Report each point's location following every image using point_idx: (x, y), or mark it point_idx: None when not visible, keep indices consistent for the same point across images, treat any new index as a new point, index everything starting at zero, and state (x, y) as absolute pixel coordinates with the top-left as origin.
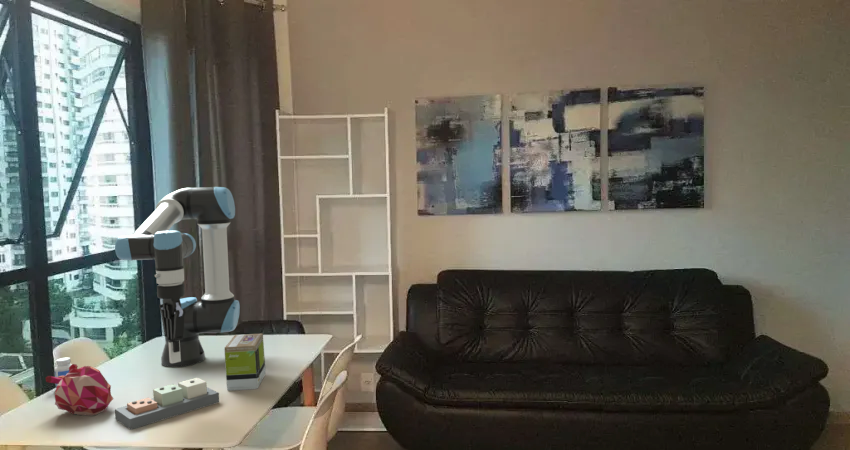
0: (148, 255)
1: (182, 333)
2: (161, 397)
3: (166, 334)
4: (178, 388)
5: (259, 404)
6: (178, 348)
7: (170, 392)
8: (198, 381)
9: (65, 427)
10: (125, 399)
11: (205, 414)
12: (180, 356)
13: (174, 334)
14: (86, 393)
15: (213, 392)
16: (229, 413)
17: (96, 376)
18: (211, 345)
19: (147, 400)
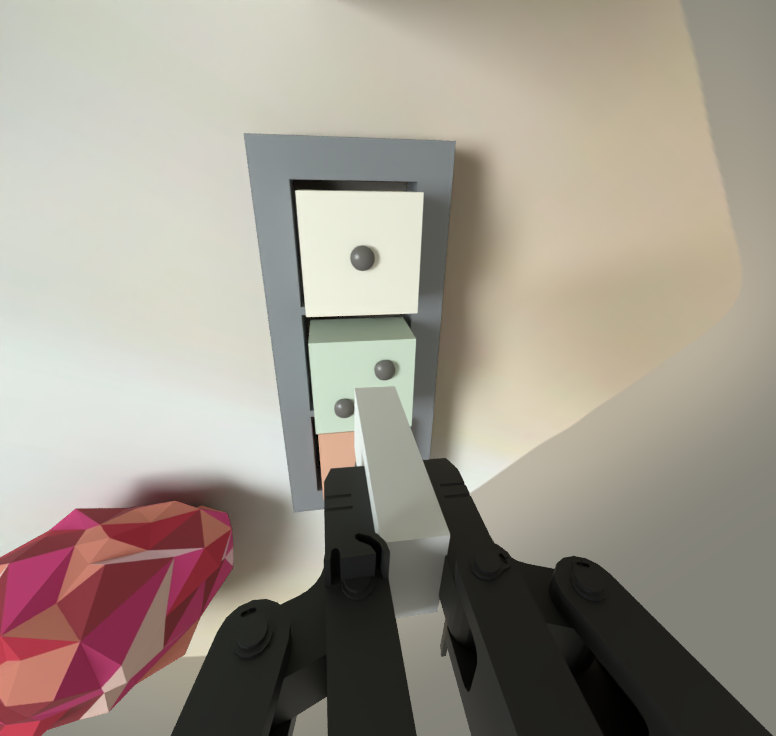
0: None
1: (685, 664)
2: None
3: (294, 715)
4: (400, 351)
5: (634, 9)
6: (461, 490)
7: (412, 390)
8: (378, 224)
9: (258, 576)
10: (88, 421)
11: (508, 266)
12: (403, 409)
13: (618, 732)
14: (190, 613)
15: (429, 161)
16: (584, 191)
17: (112, 641)
18: None
19: (352, 445)
